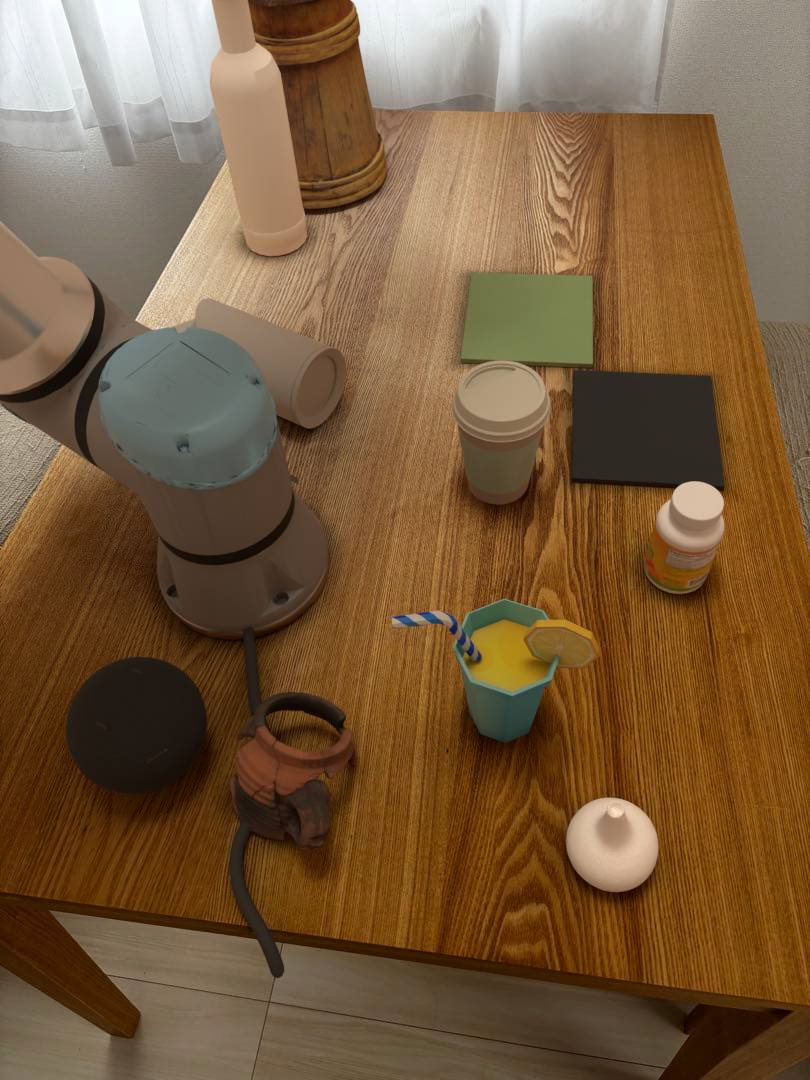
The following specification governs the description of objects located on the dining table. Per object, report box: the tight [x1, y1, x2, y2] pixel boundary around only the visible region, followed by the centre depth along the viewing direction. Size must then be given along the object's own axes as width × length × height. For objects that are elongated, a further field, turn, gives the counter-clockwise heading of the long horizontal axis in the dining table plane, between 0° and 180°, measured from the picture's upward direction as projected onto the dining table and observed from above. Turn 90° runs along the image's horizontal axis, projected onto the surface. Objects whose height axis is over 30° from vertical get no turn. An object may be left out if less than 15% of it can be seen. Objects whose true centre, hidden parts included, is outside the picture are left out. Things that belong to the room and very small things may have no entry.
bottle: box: [209, 0, 308, 257], centre depth 97 cm, size 8×8×30 cm
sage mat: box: [460, 271, 594, 369], centre depth 97 cm, size 15×14×1 cm
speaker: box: [65, 656, 208, 795], centre depth 64 cm, size 10×10×10 cm
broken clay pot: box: [229, 691, 358, 852], centre depth 64 cm, size 12×10×8 cm
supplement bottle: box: [643, 481, 725, 595], centre depth 72 cm, size 5×5×10 cm
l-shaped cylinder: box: [171, 298, 347, 429], centre depth 88 cm, size 18×11×20 cm
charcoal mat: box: [571, 369, 726, 491], centre depth 86 cm, size 15×14×1 cm
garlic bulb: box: [565, 797, 659, 893], centre depth 59 cm, size 6×6×8 cm
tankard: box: [248, 0, 388, 210], centre depth 109 cm, size 18×24×25 cm
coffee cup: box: [450, 360, 552, 506], centre depth 78 cm, size 8×9×12 cm
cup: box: [391, 598, 601, 744], centre depth 63 cm, size 14×8×15 cm, turn 90°
